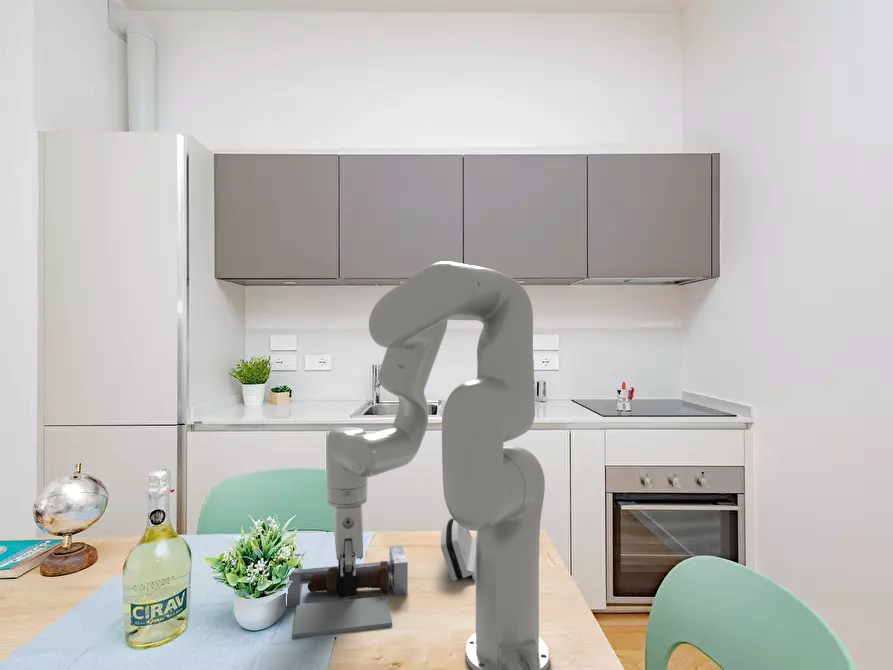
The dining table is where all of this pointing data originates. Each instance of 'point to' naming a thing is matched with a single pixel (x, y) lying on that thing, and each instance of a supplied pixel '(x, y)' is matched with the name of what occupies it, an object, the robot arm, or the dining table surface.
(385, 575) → the bolt
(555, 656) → the dining table surface
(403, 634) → the dining table surface
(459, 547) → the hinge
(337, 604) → the mat
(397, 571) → the vise
